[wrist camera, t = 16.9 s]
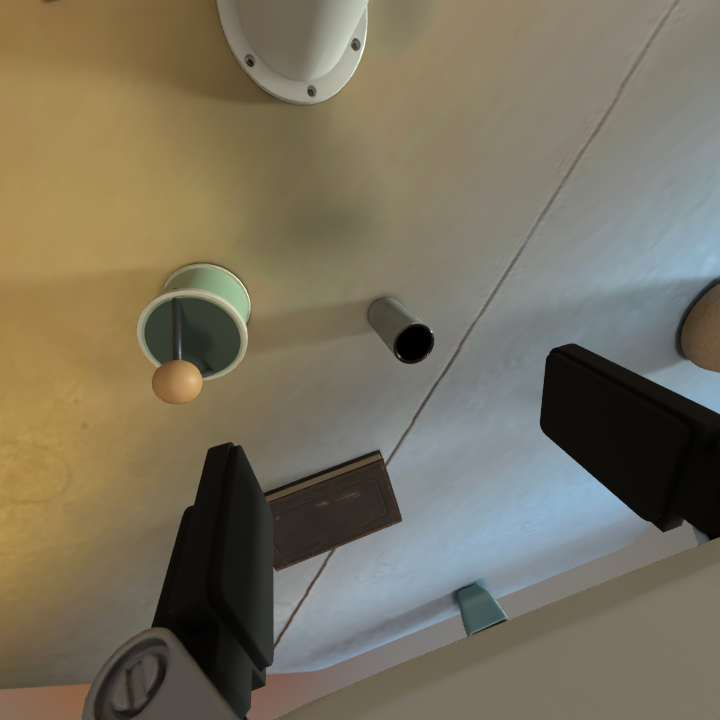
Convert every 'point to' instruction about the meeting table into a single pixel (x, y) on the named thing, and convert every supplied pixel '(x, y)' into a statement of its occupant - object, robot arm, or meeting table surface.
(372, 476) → the hardcover book
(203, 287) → the green hollow rimmed cylinder
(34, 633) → the meeting table surface
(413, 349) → the grey hollow tube
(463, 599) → the flower pot
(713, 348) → the potted plant
